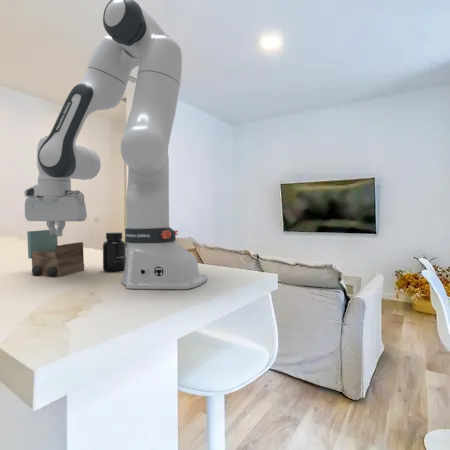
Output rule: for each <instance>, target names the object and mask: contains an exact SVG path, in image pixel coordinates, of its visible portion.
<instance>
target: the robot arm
mask: <svg viewBox="0 0 450 450" xmlns="http://www.w3.org/2000/svg"><path fill="white" fill-rule="evenodd" d="M102 24H103V28H104V29H105V31H106V33H107V34H108V35H104V36H102V37H101V38H100V39H99V41H98V43H97V45H96V46H95V48H94V50H93V53H92V55H91V57H90V60H89V63H88V66H87V68H86V71H85V74H84V76H83V78H82V79H81V80H80V82H79V83H78V84H76V85H75V86H74V87H73V88H71V90H70V92H69V93H68V96H67V97H66V99H65V100H64V103H63V106H62V108H61V110H60V112H59V114H58V116H57V118H56V120H55V122H54V125H53V127H52V129H51V131H50V132H49V135H46V136H44V137H41V138H40V139H39V141H38V144H37V149H36V165H37V169H38V177H37V184H35V185H33V186H31V187H29V188H27V189H25V190H24V191H23V193H24V197H26V198H25V201H24V217H25V219H26V220H27V221H28V222H46V226H47V228H48V230H50V236H57V237H62V236H63V231H64V228H65V226H66V222H84V221H86V219H87V206H86V203H85V202H86V201H85V195H84V193H83V192H81V191H80V190H77V189H75V190H72V180H83V181H85V180H86V181H87V180H91V179H94V178H95V177H97V175H98V174H99V172H100V169H101V160H100V159H101V158H100V157H99V155H98V154H97V152H96V151H93V150H91V149H90V148H88V147H87V148H86V147H85V146H80V145H77V144H76V141H77V139H78V137H79V135H80V133H81V131H82V129H83V126H84V123H85V122H86V119H87V118H88V117H89V116H90V115H91V114H92V113H94V112H97V111H106V110H111V109H113V108H115V107H118V106H119V104H120V103H121V101H122V100H123V98H124V95H125V92H126V89H127V86H128V83H129V79H130V75H131V73H132V72H133V70H134V69H136V68H137V67H138V69H137V74H136V80H135V81H136V82H135V87H134V94H133V99H132V104H131V109H130V112H129V115H128V118H127V121H126V124H125V128H124V131H123V136H122V138H121V141H120V154H121V157H122V159H123V161H124V163H125V164H126V165H127V167H128V172H127V187H126V197H125V208H126V211H125V213H126V215H125V216H126V219H125V220H126V221H125V222H126V228H125V229H124V242H125V244H126V261H125V269H124V271H123V273H122V278H121V281H120V282H121V284H122V285H125V287H126V289H135V290H138V289H139V290H144V289H145V290H146V289H147V290H189V289H194V288H196V287H199V286H201V285H203V284H204V283H206V281H207V280H208V276H207V274H205V273H200V271H199V264H198V259H197V258H196V256H195V255H194V254H192V253H191V252H190V251H189V250H187V249H186V248H185V247H183V246H182V244H180V243H179V242H178V241H176V236H178V235H179V231H178V230H174V229H173V228H172V227H170V207H169V206H170V201H169V199H170V198H169V197H170V187H169V186H170V185H169V182H170V179H169V177H170V176H169V175H170V170H169V169H170V167H169V166H170V165H169V164H170V163H169V162H170V161H169V159H170V158H169V145H170V141H171V140H170V139H171V134H172V129H173V125H174V121H175V120H174V119H175V117H176V111H177V106H178V105H177V104H178V100H179V93H180V89H181V88H180V87H181V81H182V71H183V69H182V68H183V67H182V65H183V63H182V62H183V60H182V57H183V56H182V50H181V47H180V45H179V44H178V43H177V41H175V40H174V39H173V38H171V37H170V36H169V35H168V34H167V33H166V32H165V31H164V29H162V27H161V26H160V24H158V22H157V21H156V19H154V18H153V17H152V15H150V14H149V13H148V12H147V11H146V10H144V8H142V7H141V6H140V5H139V3H137V2H136V1H135V0H109V2H108V3H107V5H106V7H105V9H104V12H103V17H102ZM55 225H56V226H57V227H56V226H55Z"/></svg>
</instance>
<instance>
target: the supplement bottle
mask: <svg viewBox="0 0 450 450" xmlns="http://www.w3.org/2000/svg"><path fill="white" fill-rule="evenodd" d="M105 239H106V241H104V242H103V243H102V270H103V272H105V273H121V272H124V269H125V261H126V249H127V248H126V244H125V240H122V239H123V232H106V233H105Z"/></svg>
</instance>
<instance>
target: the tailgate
mask: <svg viewBox="0 0 450 450" xmlns="http://www.w3.org/2000/svg"><path fill="white" fill-rule="evenodd" d="M26 235H27V253H28V255H27V258H28V259H30V260H32V252H34V251H38V252H55V246H57V245H59V244H58V243H59V242H58V236H50V230H49V229H41V230H30V231H29V230H28V231H27V232H26Z"/></svg>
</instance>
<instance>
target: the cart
mask: <svg viewBox="0 0 450 450" xmlns="http://www.w3.org/2000/svg"><path fill="white" fill-rule="evenodd" d="M84 258H85V257H84V242H83V241H79V242H73V243H65V244H58V245H57V246H55V252H38V251H34V252H32V258H31V274H32V276H34V277H50V278H60V277H64V276H68V275H71V274H76V273H80V272H83V271H84V270H85V262H84V261H85V260H84Z"/></svg>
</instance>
